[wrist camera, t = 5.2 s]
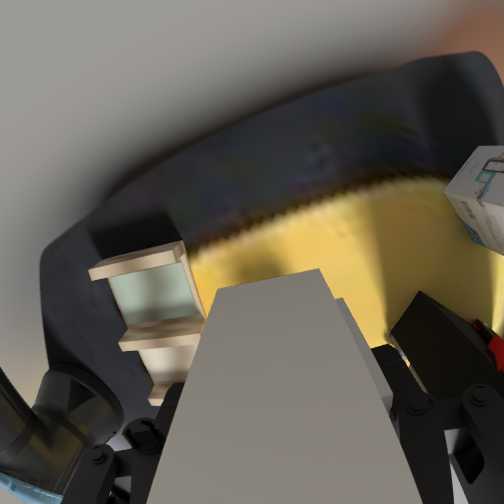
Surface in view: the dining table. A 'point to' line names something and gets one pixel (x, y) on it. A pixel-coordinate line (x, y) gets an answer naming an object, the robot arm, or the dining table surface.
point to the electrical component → (448, 349)
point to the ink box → (481, 196)
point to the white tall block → (280, 408)
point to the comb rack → (157, 310)
